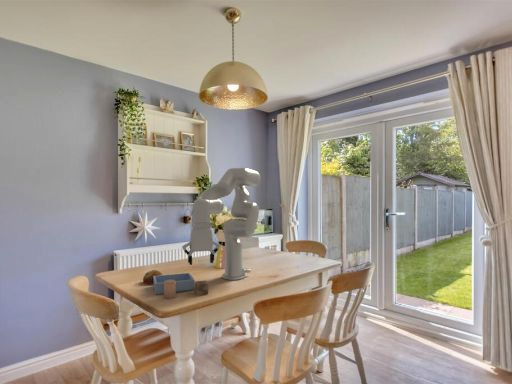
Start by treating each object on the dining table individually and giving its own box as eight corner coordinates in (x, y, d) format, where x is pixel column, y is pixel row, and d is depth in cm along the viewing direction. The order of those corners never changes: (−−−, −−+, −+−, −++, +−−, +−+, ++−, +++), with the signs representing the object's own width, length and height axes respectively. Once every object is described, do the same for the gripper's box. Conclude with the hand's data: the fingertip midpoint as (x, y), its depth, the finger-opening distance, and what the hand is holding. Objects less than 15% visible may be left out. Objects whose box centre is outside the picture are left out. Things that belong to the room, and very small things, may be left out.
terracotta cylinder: (175, 294, 137) (175, 279, 137) (176, 298, 133) (176, 282, 133) (163, 295, 135) (163, 280, 135) (164, 299, 131) (164, 283, 131)
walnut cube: (205, 291, 142) (205, 280, 142) (208, 294, 138) (208, 283, 138) (194, 292, 141) (194, 281, 141) (197, 295, 136) (197, 284, 136)
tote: (189, 282, 156) (189, 272, 156) (194, 290, 143) (194, 279, 143) (153, 286, 149) (153, 276, 149) (155, 294, 136) (155, 283, 136)
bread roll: (158, 285, 162) (155, 271, 164) (169, 280, 156) (165, 265, 158) (141, 290, 154) (138, 274, 156) (151, 285, 148) (148, 269, 150)
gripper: (217, 224, 146) (217, 260, 146) (181, 225, 139) (180, 263, 139) (222, 226, 139) (221, 263, 139) (183, 227, 132) (183, 266, 132)
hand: (201, 263), depth 139 cm, fingers open, 9 cm apart
